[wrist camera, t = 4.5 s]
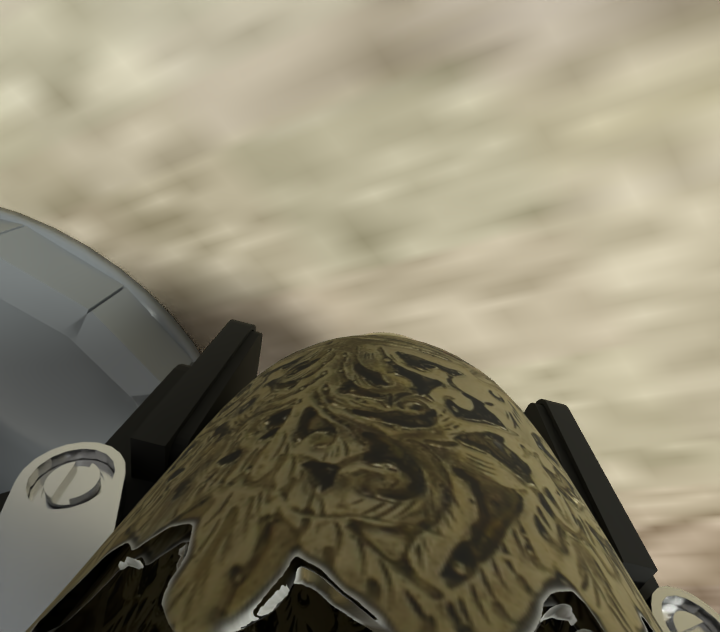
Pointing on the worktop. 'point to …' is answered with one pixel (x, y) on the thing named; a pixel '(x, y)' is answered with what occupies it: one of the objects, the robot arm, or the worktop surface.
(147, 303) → the round dish
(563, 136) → the worktop surface
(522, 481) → the cup
